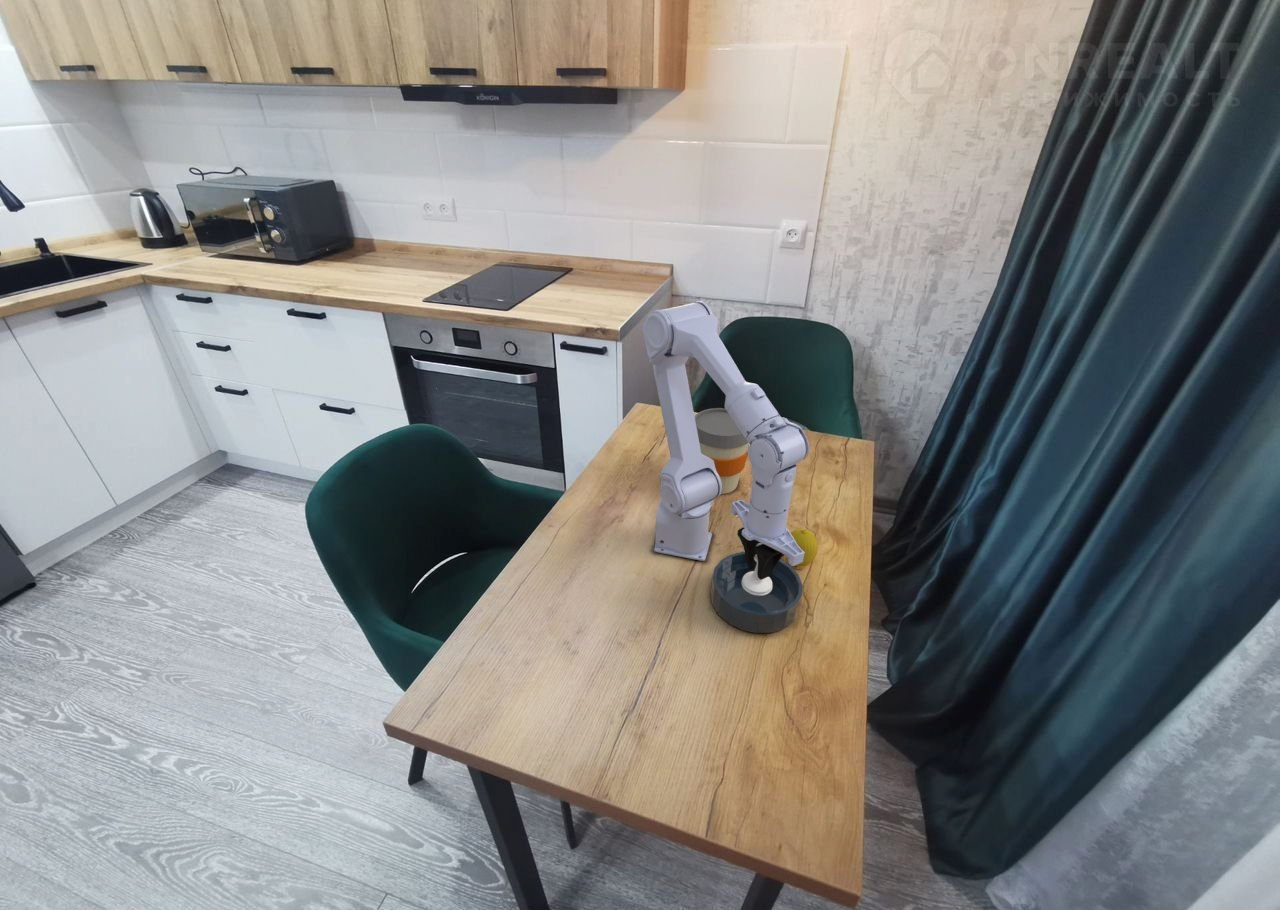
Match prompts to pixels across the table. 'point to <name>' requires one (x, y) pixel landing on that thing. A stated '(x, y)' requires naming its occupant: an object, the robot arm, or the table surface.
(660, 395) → the robot arm
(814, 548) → the lemon
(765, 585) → the chess piece
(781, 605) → the bowl
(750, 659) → the table surface
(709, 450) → the reusable coffee cup
